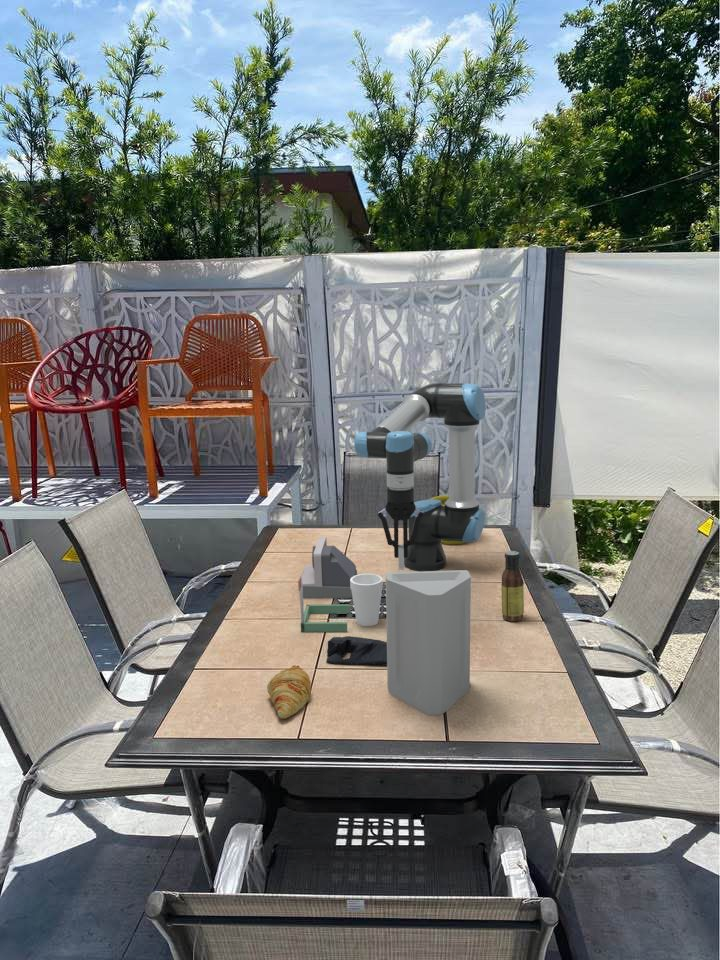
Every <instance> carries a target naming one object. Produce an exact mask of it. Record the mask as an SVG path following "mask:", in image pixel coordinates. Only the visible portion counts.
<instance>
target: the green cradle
mask: <svg viewBox="0 0 720 960" xmlns="http://www.w3.org/2000/svg"><path fill="white" fill-rule="evenodd" d="M297 583H298V587H297V588H298V592H299V599H300V600H299V603H300V632H301V633H348V622H347V621H329V622H328V621H326V622H325V621H321V622H320V621H319V622H318V621H316V622H315V621H314V622H313V621H309V618H310V615H311V614H313V615H314V614H316V615H317V614H318V615H319V614H320V615H321V614H322V615H325V614H327V615H329V614H330V615H331V614H341V615H342V614H351V606H350V603H349V604H348V603H345V604H343V603H341V604H339V603H338V604H333V603H331V604H326V603H325V604H306V606H305V608H304V598H303V586H302V574H300V575H298V581H297Z"/></svg>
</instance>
